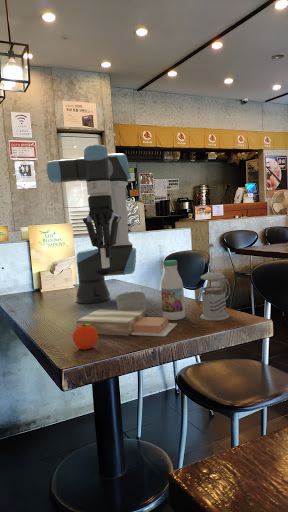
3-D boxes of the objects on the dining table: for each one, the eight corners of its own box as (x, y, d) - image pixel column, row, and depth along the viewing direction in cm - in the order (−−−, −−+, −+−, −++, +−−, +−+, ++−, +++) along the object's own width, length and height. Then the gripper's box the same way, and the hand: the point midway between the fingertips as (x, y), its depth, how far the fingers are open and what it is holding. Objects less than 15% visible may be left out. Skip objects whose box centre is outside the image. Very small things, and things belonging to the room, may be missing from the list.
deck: (98, 320, 132) (97, 309, 132) (145, 322, 125) (144, 310, 125) (77, 332, 119) (76, 320, 119) (128, 335, 112) (127, 322, 112)
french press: (194, 316, 128) (189, 244, 126) (219, 310, 134) (216, 241, 132) (213, 322, 120) (208, 245, 117) (239, 315, 126) (235, 241, 123)
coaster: (142, 323, 123) (142, 316, 123) (168, 324, 120) (168, 317, 119) (132, 331, 115) (131, 324, 114) (159, 333, 111) (159, 325, 111)
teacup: (148, 318, 130) (146, 296, 130) (117, 321, 130) (115, 298, 129) (145, 308, 144) (143, 288, 143) (117, 311, 144) (115, 291, 143)
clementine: (89, 341, 109) (87, 318, 109) (106, 345, 105) (104, 320, 105) (68, 350, 103) (66, 325, 102) (86, 354, 99) (83, 328, 98)
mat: (145, 323, 124) (145, 322, 124) (177, 324, 120) (176, 323, 120) (131, 334, 113) (130, 333, 113) (165, 336, 109) (164, 335, 109)
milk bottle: (167, 314, 134) (163, 259, 132) (188, 315, 131) (184, 258, 129) (159, 320, 127) (155, 262, 125) (181, 321, 124) (177, 261, 122)
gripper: (75, 196, 118) (82, 269, 121) (112, 193, 113) (118, 269, 116) (87, 196, 125) (94, 265, 128) (122, 193, 120) (128, 265, 123)
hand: (105, 267), depth 122 cm, fingers closed
